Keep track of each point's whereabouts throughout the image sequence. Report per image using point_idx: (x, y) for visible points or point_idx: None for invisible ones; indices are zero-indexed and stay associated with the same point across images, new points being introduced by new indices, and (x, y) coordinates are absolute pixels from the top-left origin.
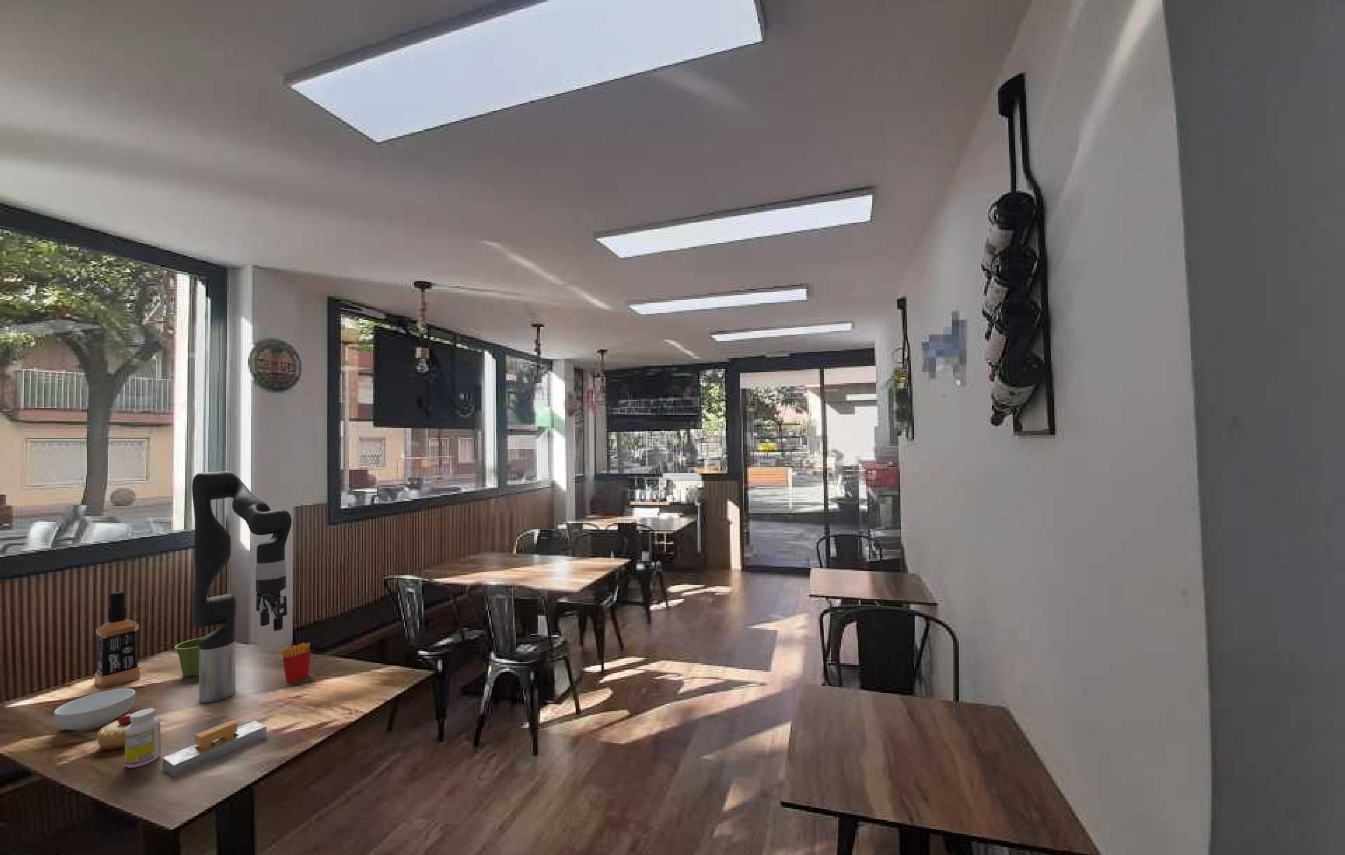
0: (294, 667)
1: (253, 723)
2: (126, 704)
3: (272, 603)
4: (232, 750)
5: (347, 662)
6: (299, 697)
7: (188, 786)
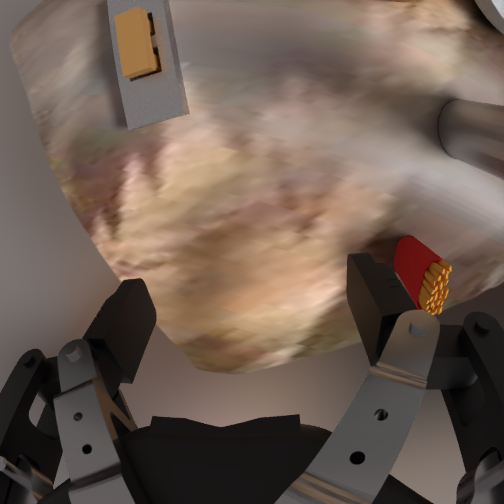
0: (409, 262)
1: (166, 110)
2: (488, 9)
3: (67, 479)
4: None
5: None
6: (296, 225)
7: (68, 25)
